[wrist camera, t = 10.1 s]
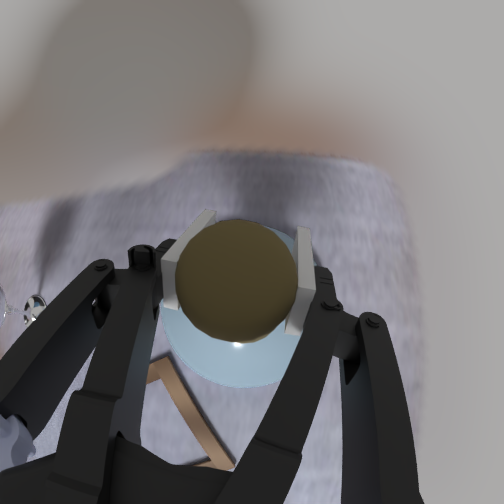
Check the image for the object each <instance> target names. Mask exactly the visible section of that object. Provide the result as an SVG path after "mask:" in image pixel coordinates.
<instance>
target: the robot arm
mask: <svg viewBox="0 0 504 504" xmlns="http://www.w3.org/2000/svg"><path fill="white" fill-rule="evenodd" d="M215 222H216V211H212V210H206V209H205V210H204V211H203V212H202V213H201V214H200V215H199V216H198V218H197V219H196V220H195V221H194V222H193V223H192V224H191V225H190V226H189V227H188V229H187V230H186V231H185V232H184V233H183V234H182V235H181V236H180V237H179V239H178V240H175V239H170V238H169V239H167V240H165V241H163V242H162V243H161V244H160V245H159V246H158V247H157V248H156V249H155V248H154V247H152V246H150V245H136V246H133V247H131V248H130V249H129V250H128V258H129V268H128V269H114V263H113V262H112V261H110V260H108V259H99V260H96V261H94V262H92V263H91V264H90V265H89V266H88V267H86V268H85V269H84V270H83V271H82V272H81V273H80V274H79V275H78V276H77V277H76V278H75V279H74V280H73V281H72V282H71V283H70V284H69V285H68V286H67V287H66V288H65V289H64V290H63V291H62V292H61V293H60V294H59V295H58V296H57V297H56V298H55V299H54V300H53V301H52V302H51V303H50V304H49V305H48V306H47V307H46V308H45V309H44V310H43V311H42V312H41V313H40V314H39V315H38V317H37V318H36V319H35V320H34V321H33V322H32V323H31V324H30V325H29V326H28V328H27V329H26V330H25V331H24V332H23V333H22V334H21V336H20V337H19V338H18V339H17V340H16V342H15V343H14V344H13V345H12V346H11V348H10V349H9V350H8V351H7V352H6V354H5V355H4V356H3V357H2V359H1V360H0V504H283V503H284V500H285V498H286V496H287V494H288V492H289V490H290V487H291V485H292V483H293V480H294V478H295V476H296V473H297V471H298V468H299V466H300V463H301V460H302V454H301V452H302V449H303V446H304V443H305V441H306V438H307V435H308V433H309V430H310V427H311V424H312V421H313V418H314V415H315V412H316V409H317V406H318V403H319V400H320V397H321V394H322V391H323V387H324V384H325V380H326V377H327V374H328V370H329V366H330V363H331V359H332V355H333V356H335V357H338V358H339V366H340V381H341V401H342V439H343V455H342V491H341V504H424V502H423V499H422V497H421V495H420V493H419V483H418V472H417V463H416V455H415V447H414V440H413V434H412V428H411V422H410V417H409V412H408V406H407V402H406V397H405V392H404V388H403V383H402V379H401V375H400V371H399V367H398V363H397V359H396V356H395V352H394V348H393V345H392V341H391V338H390V334H389V331H388V328H387V324H386V322H385V320H384V319H383V318H382V317H381V316H379V315H377V314H375V313H372V312H364V313H362V314H361V315H360V317H359V318H358V317H355V316H353V315H350V314H348V313H346V312H345V311H343V305H342V304H341V302H339V301H338V300H337V298H336V293H335V287H334V282H333V277H332V273H331V272H330V271H329V270H328V268H324V267H319V266H314V263H313V254H312V244H311V236H310V228H305V227H300V226H298V227H297V232H296V236H295V241H294V245H293V249H292V254H291V255H292V257H293V259H294V261H295V263H296V269H297V276H298V286H297V292H296V299H295V302H294V304H293V306H292V308H291V310H290V311H289V313H288V315H287V317H286V319H285V332H284V334H290V335H296V336H300V335H301V337H300V339H299V341H298V344H297V346H296V349H295V351H294V353H293V356H292V358H291V360H290V362H289V365H288V367H287V369H286V371H285V374H284V376H283V378H282V380H281V382H280V384H279V387H278V389H277V391H276V393H275V395H274V397H273V399H272V401H271V403H270V405H269V408H268V410H267V412H266V414H265V416H264V418H263V420H262V422H261V423H260V425H259V427H258V429H257V431H256V433H255V435H254V437H253V438H252V440H251V441H250V443H249V445H248V447H247V448H246V450H245V452H244V454H243V456H242V457H241V459H240V461H239V463H238V465H237V466H236V468H235V470H234V471H233V472H230V471H225V470H220V469H216V468H211V467H207V466H185V465H173V464H170V463H168V462H166V461H164V460H163V459H161V458H159V457H158V456H156V455H154V454H153V453H151V452H150V451H148V450H147V449H145V448H144V447H142V446H141V438H140V425H141V417H142V409H143V401H144V394H145V388H146V381H147V375H148V369H149V363H150V357H151V352H152V347H153V341H154V336H155V331H156V326H157V321H158V317H159V312H160V310H159V303H160V302H161V300H162V299H163V306H164V307H166V308H169V309H173V310H177V311H178V310H179V308H180V303H179V301H178V298H177V295H176V290H175V271H176V267H177V263H178V260H179V256H180V254H181V253H182V251H183V250H184V248H185V247H186V245H187V243H188V242H189V240H190V239H192V238H193V237H194V236H195V235H196V234H198V233H199V232H200V231H201V230H202V229H204V228H206V227H208V226H210V225H213V224H215ZM94 299H95V301H96V302H95V303H94V304H93V305H92V303H93V301H94ZM302 330H303V332H302ZM301 332H302V334H301ZM95 347H96V348H95ZM94 348H95V351H94V353H93V356H92V359H91V362H90V365H89V368H88V371H87V374H86V378H85V381H84V384H83V387H82V389H81V390H75V391H74V392H73V393H72V394H71V397H70V399H69V402H68V406H67V409H66V413H65V417H64V420H63V424H62V428H61V432H60V436H59V441H58V445H57V450H56V453H53V454H50V455H47V456H45V457H42V458H39V459H36V460H33V461H30V462H27V463H26V461H27V457H33V456H34V455H35V453H36V448H35V446H34V445H33V440H34V439H35V438H36V437H37V436H38V435H39V434H40V433H41V431H42V430H43V429H44V428H45V426H46V424H47V423H48V421H49V420H50V418H51V416H52V415H53V413H54V411H55V409H56V408H57V406H58V404H59V403H60V401H61V399H62V398H63V396H64V394H65V393H66V391H67V390H68V388H69V386H70V385H71V383H72V382H73V380H74V378H75V377H76V375H77V374H78V372H79V371H80V369H81V368H82V366H83V365H84V363H85V362H86V360H87V359H88V357H89V356H90V354H91V353H92V351H93V350H94Z"/></svg>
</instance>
